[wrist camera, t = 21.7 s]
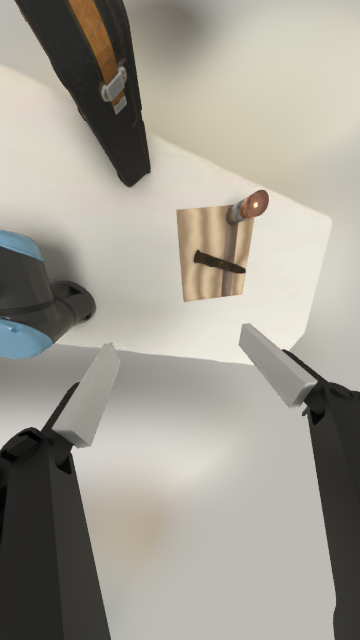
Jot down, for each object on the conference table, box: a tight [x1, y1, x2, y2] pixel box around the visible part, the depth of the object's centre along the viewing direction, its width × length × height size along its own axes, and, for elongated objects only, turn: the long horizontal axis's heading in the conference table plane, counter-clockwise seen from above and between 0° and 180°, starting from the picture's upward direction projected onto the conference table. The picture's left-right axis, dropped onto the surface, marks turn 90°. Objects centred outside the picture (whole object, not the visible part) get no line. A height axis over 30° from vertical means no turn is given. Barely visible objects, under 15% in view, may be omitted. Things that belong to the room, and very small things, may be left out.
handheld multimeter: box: [15, 0, 151, 187], centre depth 18 cm, size 16×9×25 cm, turn 32°
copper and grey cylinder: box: [226, 190, 269, 225], centre depth 33 cm, size 4×4×12 cm
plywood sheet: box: [177, 205, 254, 302], centre depth 44 cm, size 24×28×1 cm
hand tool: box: [194, 250, 246, 274], centre depth 43 cm, size 19×4×5 cm, turn 72°
